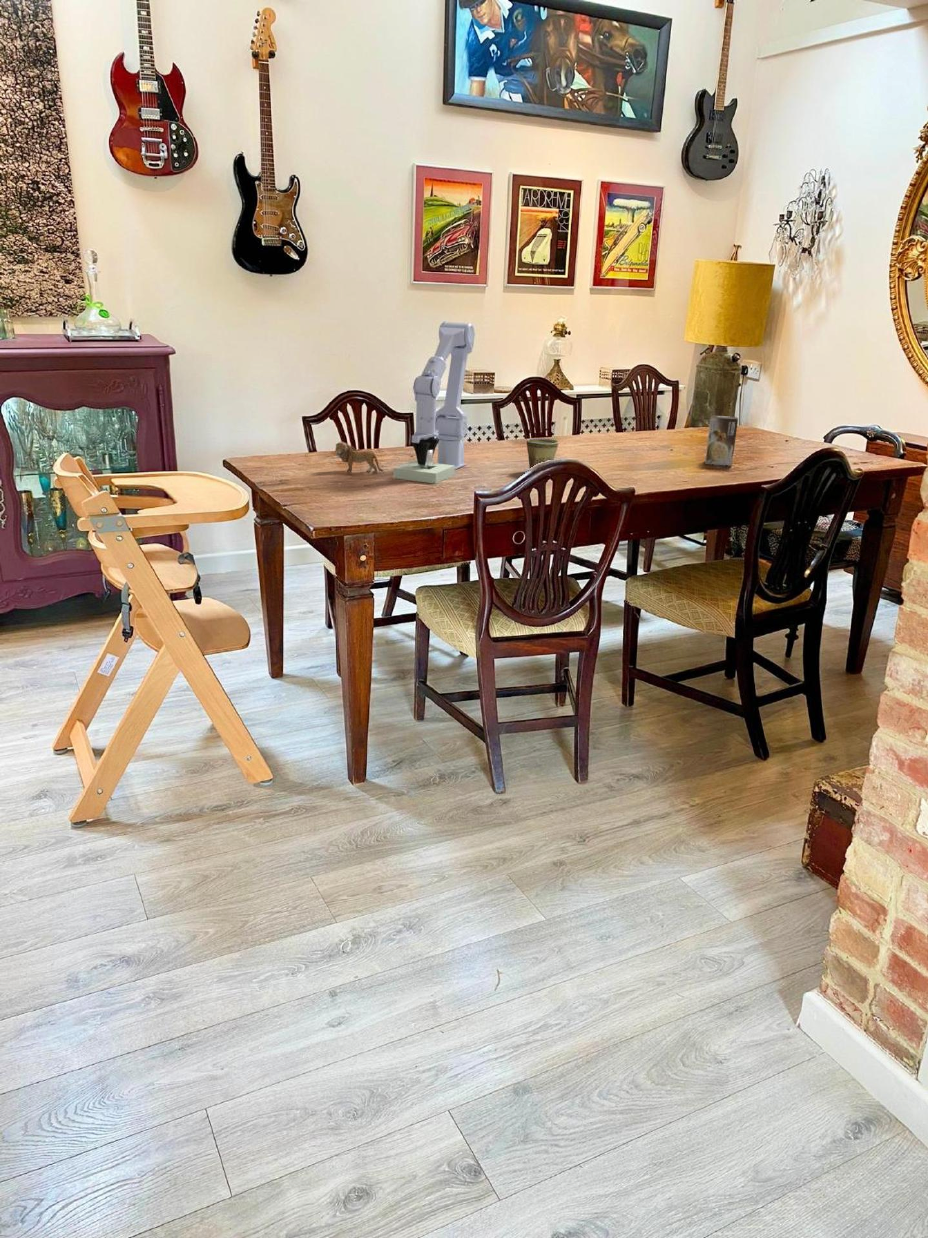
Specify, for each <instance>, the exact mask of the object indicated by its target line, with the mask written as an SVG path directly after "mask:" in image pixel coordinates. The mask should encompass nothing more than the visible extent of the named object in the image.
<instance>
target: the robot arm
mask: <svg viewBox="0 0 928 1238" xmlns="http://www.w3.org/2000/svg"><path fill="white" fill-rule="evenodd" d="M475 336H476V333H475V328H474V326H473V324H472V323H471V322H466V323H465V322H452V321H451V322H449V321H442V322H441V324H440V325H439V328H438V340H439V342H438V345H437V348H436V351H435V353H434V356H431V357H430V358H429V359H428V360H427V362H426V364H425V366H424V368H423V370H422V373H421V375H419V376H417V377H415V378H414V382H413V386H412V389H413V394H414V401H415V402H416V407H415V408H416V411H415V413H416V415H415V416H416V417H415V419H416V420H415V422H416V423H415V431H414V434H412V435H411V442H410V443H411V446H412V447H413V450H414V452H415V456H416V461H418V465H425V464H426V458H427V452H428V449H433V456H434V453H435V451H436V448H437V459H436V463H439V464H447V465H455V470H458V469H459V468H462V467H464V466H466V465H467V463H466V462H464V459H465V458H464V457H465V454H464V453H465V443H464V442H463V439H464V438H465V436H466V435H467V430H468V424H467V423H468V421H467V420H468V417H467V415H466V413H465V412H464V411H463V410H462V409H461V400H462V395H463V387H464V380H465V374H466V368H467V362H468V361H467V360H468V355H469V354H471V353H472V352H473V348H474V342H475V338H476V337H475ZM450 355H451V356H450ZM449 356H450V365H449V371H448V377H447V384H446V390H445V391H446V392H445V399H444V406H442V407H441V408H438V410H437V411H436V409H437V397H438V395H439V394H440V391H441V386H442V378H443V376H444V373H445V372H446V370H447V364H446V361H447V359H448V358H449Z"/></svg>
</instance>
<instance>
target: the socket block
mask: <svg viewBox="0 0 928 1238" xmlns="http://www.w3.org/2000/svg"><path fill="white" fill-rule="evenodd" d="M455 473H456V469H455V465H447V464H439V463H437V462H433V465H432V469H421V468H419V465H418V461H417V460H412V461H408V462H405V463H404V464H401V465H399V466H398V465H397V466H395V467H393V474H392V475H393V479H399V480H406V481H412V482H413V481H414V482H423V483H429V484H438V483H441V482H443V481H445V480H447V479H450V478H452V477H454V476H456V474H455Z"/></svg>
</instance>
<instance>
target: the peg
mask: <svg viewBox="0 0 928 1238" xmlns="http://www.w3.org/2000/svg"><path fill="white" fill-rule="evenodd" d="M433 457H434V455H433V449H428V452H427V458H426V464H425V465H419V468H421V469H432V465H433V463H434V462H433V461H434V460H433V459H434V458H433Z"/></svg>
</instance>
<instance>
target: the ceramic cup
mask: <svg viewBox="0 0 928 1238" xmlns="http://www.w3.org/2000/svg"><path fill="white" fill-rule="evenodd" d="M558 448H559V441H558V440H556V439H552V438H543V437H541V438H538V437H534V438H532V437H531V438H528V439H526V449H527V455H528V456H527V457H528V466H529V469H530V468H531V467H533V466H534V465H536V464H538V463H541V462H545V461H547V460H553V461H554V460H555V456H556V454H557V453H556V452H557V450H558Z"/></svg>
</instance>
